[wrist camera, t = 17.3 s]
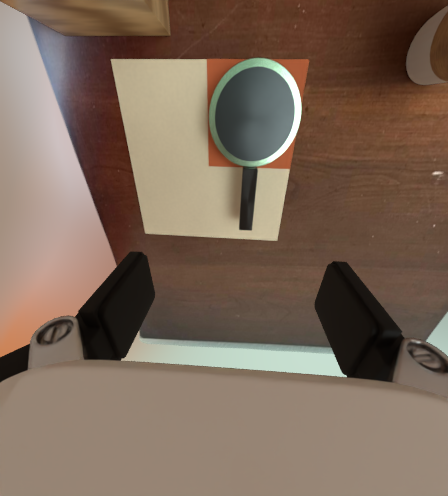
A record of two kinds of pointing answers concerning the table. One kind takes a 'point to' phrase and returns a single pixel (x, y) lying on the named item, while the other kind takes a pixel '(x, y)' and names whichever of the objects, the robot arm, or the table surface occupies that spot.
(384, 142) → the table surface
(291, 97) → the pan
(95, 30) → the block
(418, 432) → the robot arm
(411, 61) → the coffee cup
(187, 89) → the mat
